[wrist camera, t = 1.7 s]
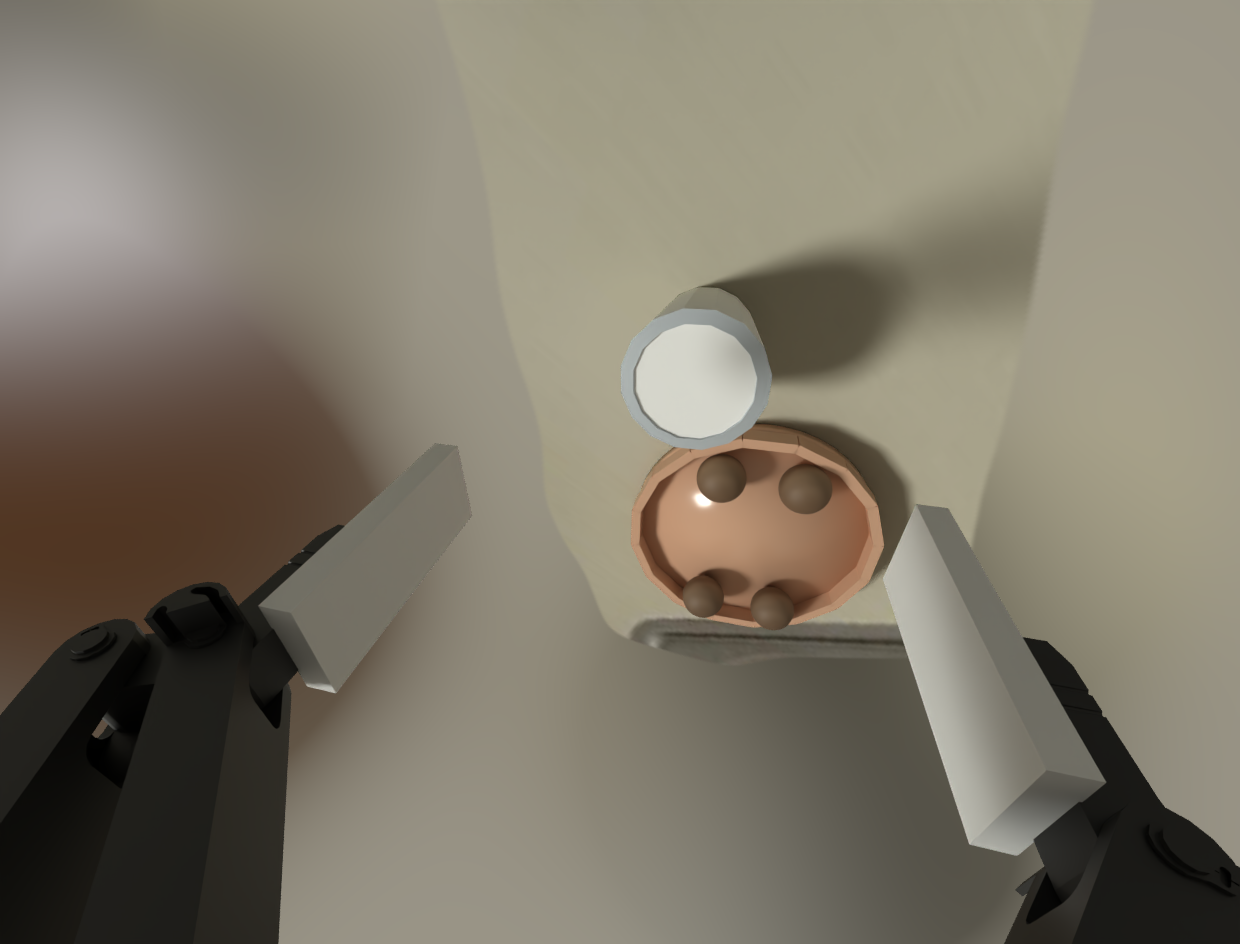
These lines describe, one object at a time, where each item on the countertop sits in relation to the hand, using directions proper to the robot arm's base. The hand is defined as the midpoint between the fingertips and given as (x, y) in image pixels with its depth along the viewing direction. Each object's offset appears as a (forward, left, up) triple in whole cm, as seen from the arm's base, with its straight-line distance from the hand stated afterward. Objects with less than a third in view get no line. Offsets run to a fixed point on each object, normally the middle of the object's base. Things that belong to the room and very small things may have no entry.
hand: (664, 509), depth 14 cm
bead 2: (+18, +2, -14) cm, 23 cm away
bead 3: (+18, +7, -14) cm, 24 cm away
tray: (+13, +5, -16) cm, 21 cm away
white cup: (0, 0, -16) cm, 16 cm away
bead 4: (+8, +7, -14) cm, 17 cm away
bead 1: (+8, +2, -14) cm, 16 cm away
